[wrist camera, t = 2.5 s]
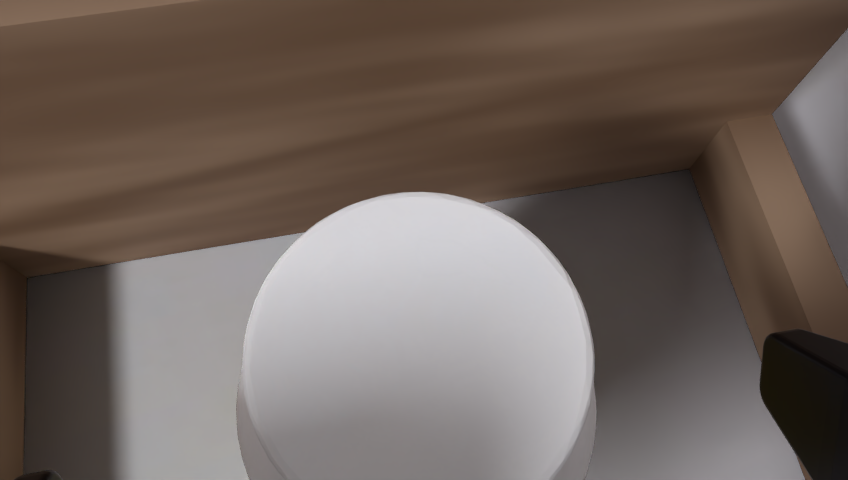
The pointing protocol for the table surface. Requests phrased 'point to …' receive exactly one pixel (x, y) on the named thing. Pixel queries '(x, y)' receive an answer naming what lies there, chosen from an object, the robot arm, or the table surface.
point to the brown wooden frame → (394, 129)
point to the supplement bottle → (417, 351)
